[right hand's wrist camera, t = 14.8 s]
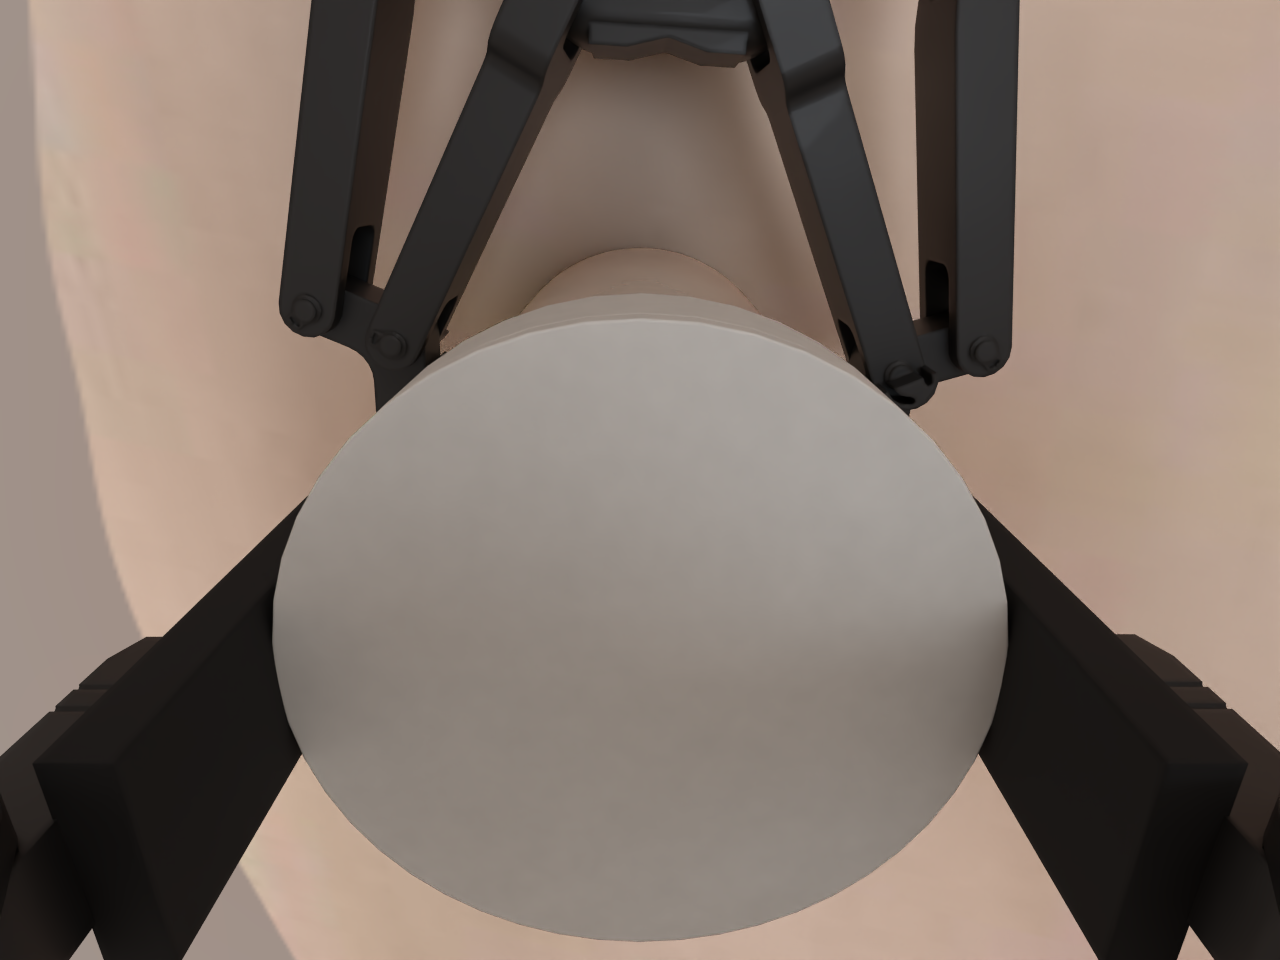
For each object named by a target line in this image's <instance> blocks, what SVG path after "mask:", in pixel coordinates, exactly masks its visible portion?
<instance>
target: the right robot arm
mask: <svg viewBox="0 0 1280 960" xmlns="http://www.w3.org/2000/svg"><path fill="white" fill-rule="evenodd" d="M308 496H309V495H308ZM308 496H307V497H308ZM307 497H306V498H305V499H304V500H303V501H302V502H301V503H300V504H299V505H298V506H297V507H296V508H295V509H294V510H293V511H292V512H291V513H290V514H289V515H288V516H287V517H286V518H285V519H283V520H282V521H281V522H280V523H279V524H278V525H277V526H276V527H275V528H274V529H273V530H272V531H271V532H270V533H269V534H268V535H267V536H266V537H265V538H264V539H263V540H262V541H261V542H260V543H259V544H258V545H257V546H256V547H255V548H254V549H253V550H252V551H251V552H249V553H248V554H247V555H246V556H245V557H244V558H243V559H242V560H241V561H240V562H239V563H238V564H237V565H236V566H235V567H234V568H233V569H232V570H231V571H230V572H229V573H228V574H227V575H226V576H225V577H224V578H223V579H222V580H221V581H220V582H219V583H218V584H217V585H215V586H214V587H213V588H212V589H211V590H210V591H209V592H208V593H207V594H206V595H205V596H204V597H203V598H202V599H201V600H200V601H199V602H198V603H197V604H196V605H195V606H194V607H193V608H192V609H191V610H190V611H189V612H188V613H187V614H186V615H185V616H184V617H183V618H182V619H180V620H179V621H178V622H177V623H176V624H175V625H174V626H173V627H172V628H171V629H170V630H169V631H168V632H167V633H166V634H165V635H164V636H163V637H145V638H144V639H142V640H140V641H138V642H137V643H135V644H133V645H131V646H129V647H128V648H126V649H124V650H122V651H120V652H119V653H117V654H115V655H113V656H112V657H110V658H108V659H107V660H106V661H105V662H103V663H102V664H101V665H100V666H99V667H98V668H97V669H96V670H95V671H94V672H92V673H91V674H90V675H89V676H88V677H87V678H86V679H85V680H84V681H83V682H81V683H80V684H79V689H78V690H73V691H72V692H70V693H69V694H68V695H67V696H66V697H65V698H64V699H63V700H62V701H61V702H60V703H58V704H57V705H56V709H55V711H54V712H49V713H47V714H46V715H45V716H44V717H43V718H42V719H41V720H40V721H39V722H38V723H36V724H35V725H34V726H33V727H32V728H31V729H30V730H29V731H28V732H27V733H25V734H24V735H23V736H22V737H21V738H20V739H19V740H18V741H17V742H16V743H14V744H13V745H12V746H11V747H10V748H9V749H8V750H7V751H6V752H5V753H4V754H2V755H1V756H0V960H69V959H70V958H71V957H72V955H73V954H74V952H75V951H76V950H77V948H78V947H79V945H80V944H81V943H82V941H83V940H84V939H85V937H86V936H87V934H88V933H89V932H90V930H91V929H93V931H94V934H95V937H96V940H97V942H98V945H99V948H100V950H101V953H102V956H103V959H104V960H182V959H183V957H184V955H185V954H186V952H187V950H188V948H189V947H190V945H191V943H192V942H193V940H194V938H195V936H196V935H197V933H198V931H199V930H200V928H201V926H202V924H203V923H204V921H205V919H206V918H207V916H208V914H209V912H210V911H211V909H212V907H213V905H214V904H215V902H216V900H217V899H218V897H219V895H220V894H221V892H222V890H223V888H224V886H225V885H226V883H227V881H228V880H229V878H230V876H231V875H232V873H233V871H234V869H235V868H236V866H237V864H238V863H239V861H240V859H241V857H242V856H243V854H244V852H245V851H246V849H247V847H248V845H249V844H250V842H251V840H252V839H253V837H254V835H255V833H256V832H257V830H258V828H259V827H260V825H261V823H262V821H263V820H264V818H265V816H266V815H267V813H268V811H269V809H270V808H271V806H272V804H273V803H274V801H275V799H276V797H277V796H278V794H279V792H280V790H281V789H282V787H283V785H284V784H285V782H286V780H287V778H288V777H289V775H290V773H291V772H292V770H293V768H294V766H295V765H296V763H297V761H298V760H299V758H300V756H301V754H302V752H301V750H300V747H299V745H298V743H297V741H296V739H295V736H294V734H293V732H292V730H291V727H290V725H289V723H288V720H287V716H286V713H285V709H284V705H283V700H282V696H281V691H280V687H279V682H278V677H277V671H276V666H275V661H274V654H273V646H272V632H273V600H274V595H275V590H276V584H277V579H278V574H279V569H280V564H281V559H282V556H283V553H284V550H285V547H286V545H287V542H288V539H289V536H290V534H291V531H292V528H293V526H294V523H295V520H296V517H297V515H298V513H299V512H300V510H301V508H302V506H303V504H304V503H305V501H306V499H307ZM973 498H974V497H973ZM974 500H975V502H976V503H977V505H978V507H979V509H980V511H981V513H982V514H983V516H984V518H985V521H986V523H987V526H988V529H989V532H990V535H991V537H992V540H993V543H994V546H995V549H996V552H997V554H998V557H999V560H1000V565H1001V571H1002V576H1003V582H1004V587H1005V592H1006V598H1007V611H1008V651H1007V658H1006V663H1005V668H1004V674H1003V679H1002V684H1001V689H1000V693H999V698H998V702H997V706H996V711H995V714H994V718H993V721H992V724H991V726H990V729H989V731H988V733H987V735H986V737H985V740H984V742H983V744H982V746H981V748H980V751H979V753H978V754H979V755H980V757H981V759H982V760H983V762H984V764H985V766H986V767H987V769H988V771H989V773H990V774H991V776H992V778H993V779H994V781H995V783H996V785H997V786H998V788H999V790H1000V791H1001V793H1002V795H1003V797H1004V798H1005V800H1006V802H1007V803H1008V805H1009V807H1010V809H1011V810H1012V812H1013V814H1014V815H1015V817H1016V819H1017V821H1018V822H1019V824H1020V826H1021V827H1022V829H1023V831H1024V833H1025V834H1026V836H1027V838H1028V839H1029V841H1030V843H1031V845H1032V846H1033V848H1034V850H1035V851H1036V853H1037V855H1038V857H1039V858H1040V860H1041V862H1042V863H1043V865H1044V867H1045V869H1046V870H1047V872H1048V874H1049V876H1050V877H1051V879H1052V881H1053V882H1054V884H1055V886H1056V888H1057V889H1058V891H1059V893H1060V894H1061V896H1062V898H1063V900H1064V901H1065V903H1066V905H1067V906H1068V908H1069V910H1070V912H1071V913H1072V915H1073V917H1074V918H1075V920H1076V922H1077V924H1078V925H1079V927H1080V929H1081V930H1082V932H1083V934H1084V936H1085V937H1086V939H1087V941H1088V942H1089V944H1090V946H1091V948H1092V949H1093V951H1094V953H1095V954H1096V956H1097V958H1098V960H1177V958H1178V955H1179V952H1180V950H1181V947H1182V944H1183V941H1184V939H1185V936H1186V933H1187V930H1188V928H1189V925H1190V927H1191V928H1192V930H1193V931H1194V932H1195V934H1196V935H1197V936H1198V938H1199V939H1200V940H1201V942H1202V943H1203V945H1204V946H1205V947H1206V949H1207V950H1208V951H1209V953H1210V954H1211V956H1212V957H1213V958H1214V960H1280V752H1279V751H1278V750H1277V749H1276V748H1275V747H1274V746H1273V745H1272V744H1270V743H1269V742H1268V741H1267V740H1266V739H1265V738H1264V737H1263V736H1262V735H1260V734H1259V733H1258V732H1257V731H1256V730H1255V729H1254V728H1253V727H1252V726H1251V725H1249V724H1248V723H1247V722H1246V721H1245V720H1244V719H1243V718H1242V717H1241V716H1239V715H1238V714H1237V713H1236V712H1235V711H1234V710H1233V709H1227V708H1226V703H1225V702H1224V701H1223V700H1222V699H1221V698H1220V697H1218V696H1217V695H1216V694H1215V693H1214V692H1213V691H1212V690H1211V689H1210V688H1209V687H1203V685H1202V681H1201V680H1200V679H1199V678H1197V677H1196V676H1195V675H1194V674H1193V673H1192V672H1191V671H1190V670H1189V669H1188V668H1186V667H1185V666H1184V665H1183V664H1182V663H1181V662H1180V661H1179V660H1178V659H1176V658H1175V657H1174V656H1173V655H1171V654H1169V653H1167V652H1165V651H1164V650H1162V649H1160V648H1158V647H1157V646H1155V645H1153V644H1151V643H1149V642H1148V641H1146V640H1144V639H1142V638H1140V637H1139V636H1137V635H1135V634H1114V633H1113V632H1112V631H1111V630H1110V629H1109V628H1108V627H1107V626H1106V625H1105V624H1104V623H1103V622H1102V621H1101V620H1100V619H1099V618H1098V617H1097V616H1096V615H1095V614H1094V613H1093V612H1092V611H1091V610H1090V609H1089V608H1088V607H1087V606H1086V605H1085V604H1084V603H1083V602H1082V601H1080V600H1079V599H1078V598H1077V597H1076V596H1075V595H1074V594H1073V593H1072V592H1071V591H1070V590H1069V589H1068V588H1067V587H1066V586H1065V585H1064V584H1063V583H1062V582H1061V581H1060V580H1059V579H1058V578H1057V577H1056V576H1055V575H1054V574H1053V573H1052V572H1051V571H1050V570H1049V569H1048V568H1046V567H1045V566H1044V565H1043V564H1042V563H1041V562H1040V561H1039V560H1038V559H1037V558H1036V557H1035V556H1034V555H1033V554H1032V553H1031V552H1030V551H1029V550H1028V549H1027V548H1026V547H1025V546H1024V545H1023V544H1022V543H1021V542H1020V541H1019V540H1018V539H1017V538H1016V537H1015V536H1013V535H1012V534H1011V533H1010V532H1009V531H1008V530H1007V529H1006V528H1005V527H1004V526H1003V525H1002V524H1001V523H1000V522H999V521H998V520H997V519H996V518H995V517H994V516H993V515H992V514H991V513H990V512H989V511H988V510H987V509H986V508H985V507H984V506H983V505H982V504H981V503H979V502H978V501H977V500H976V499H975V498H974Z"/></svg>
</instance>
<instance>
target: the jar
mask: <svg viewBox="0 0 1280 960" xmlns="http://www.w3.org/2000/svg"><path fill="white" fill-rule="evenodd" d="M637 293H646V294H660V295H674V296H689V297H694V298H699V299H703V300H708V301H713V302H718V303H723V304H728V305H732V306H736V307H739V308H742V309H745V310H748V311H751V312H753V313H756V314H759V315H761V314H760V313H759V311H758V310H757V309H756V308H755V307H754V306H753V304H752V303H751V302H750V301H749V300H748V299H747V297H746V296H745V295H744V294H743V293H742V292H741V291H740V290H739V289H738V288H737V287H736V286H735V285H734V284H733V283H732V282H731V281H730V280H729V279H728V278H726V277H725V276H723V275H722V274H721V273H719V272H718V271H716V270H715V269H713V268H712V267H710V266H708V265H706V264H704V263H702V262H700V261H699V260H697V259H694V258H691V257H689V256H686V255H683V254H680V253H677V252H672V251H667V250H663V249H654V248H625V249H618V250H613V251H608V252H603V253H600V254H597V255H595V256H592V257H589V258H586V259H584V260H582V261H580V262H578V263H576V264H574V265H572V266H570V267H568V268H567V269H566V270H564V271H563V272H561V273H560V274H558V275H557V276H555V277H554V278H553V279H552V280H551V281H550V282H548V283H547V284H546V285H545V286H544V287H543V288H542V289H541V290H540V291H539V292H538V293H537V294H536V296H535V297H534V298H533V299H532V300H531V301H530V303H529V304H528V305H527V306H526V307H525V308H524V310H523V311H522V312H521V313H520V314H519V315H521V314H524V313H527V312H530V311H533V310H536V309H539V308H542V307H545V306H548V305H552V304H557V303H562V302H567V301H572V300H577V299H582V298H587V297H593V296H605V295H621V294H637ZM519 315H518V316H519Z"/></svg>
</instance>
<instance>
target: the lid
mask: <svg viewBox="0 0 1280 960" xmlns="http://www.w3.org/2000/svg"><path fill="white" fill-rule="evenodd" d="M272 646H273V654H274V661H275V666H276V671H277V677H278V682H279V687H280V691H281V696H282V700H283V705H284V709H285V713H286V716H287V720H288V723H289V725H290V727H291V730H292V732H293V734H294V736H295V739H296V741H297V743H298V745H299V747H300V750H301V752H302V754H303V756H304V759H305V760H306V762H307V763H308V765H309V767H310V768H311V770H312V771H313V773H314V775H315V776H316V778H317V779H318V781H319V783H320V784H321V786H322V787H323V789H324V791H325V792H326V793H327V795H328V796H329V797H330V798H331V800H332V801H333V802H334V803H335V804H336V806H337V807H338V808H339V809H340V811H341V812H342V813H343V814H344V815H345V817H346V818H347V819H348V820H349V822H350V823H351V824H352V825H353V826H354V827H356V828H357V829H358V830H359V831H360V832H361V833H362V834H363V835H364V836H365V837H366V838H367V839H368V840H369V841H370V842H371V843H372V844H373V845H374V846H375V847H376V848H378V849H379V850H380V851H381V852H382V853H384V854H385V855H386V856H388V857H389V858H390V859H392V860H393V861H394V862H396V863H397V864H398V865H400V866H401V867H402V868H404V869H405V870H406V871H408V872H409V873H410V874H412V875H413V876H415V877H417V878H418V879H420V880H422V881H423V882H425V883H427V884H428V885H430V886H432V887H433V888H435V889H437V890H438V891H440V892H442V893H443V894H445V895H447V896H450V897H452V898H454V899H456V900H458V901H460V902H462V903H465V904H467V905H469V906H471V907H473V908H475V909H478V910H480V911H482V912H485V913H488V914H491V915H494V916H496V917H499V918H502V919H505V920H508V921H511V922H514V923H517V924H519V925H524V926H528V927H532V928H536V929H540V930H544V931H548V932H553V933H557V934H562V935H569V936H576V937H583V938H590V939H597V940H615V941H636V942H643V941H666V940H682V939H690V938H697V937H704V936H711V935H719V934H723V933H727V932H732V931H736V930H740V929H744V928H749V927H753V926H757V925H761V924H763V923H766V922H769V921H772V920H775V919H778V918H781V917H784V916H787V915H790V914H793V913H796V912H798V911H800V910H803V909H805V908H807V907H809V906H811V905H814V904H816V903H818V902H820V901H822V900H824V899H827V898H829V897H831V896H833V895H835V894H837V893H838V892H840V891H842V890H843V889H845V888H847V887H849V886H850V885H852V884H854V883H855V882H857V881H859V880H860V879H862V878H864V877H866V876H867V875H869V874H870V873H871V872H873V871H874V870H875V869H877V868H878V867H879V866H881V865H882V864H883V863H885V862H886V861H887V860H889V859H890V858H891V857H893V856H894V855H895V854H897V853H898V852H899V851H901V850H902V849H903V848H904V847H905V846H906V845H907V844H908V843H909V842H910V841H911V840H912V839H913V838H914V837H915V836H917V835H918V834H919V833H920V832H921V831H922V830H923V829H924V828H925V827H926V826H927V825H928V824H929V823H930V822H931V821H932V819H933V818H934V817H935V816H936V815H937V813H938V812H939V811H940V810H941V809H942V807H943V806H944V805H945V804H946V803H947V801H948V800H949V799H950V798H951V797H952V795H953V794H954V793H955V791H956V790H957V788H958V786H959V785H960V783H961V782H962V780H963V778H964V777H965V775H966V774H967V772H968V771H969V769H970V767H971V766H972V764H973V763H974V761H975V759H976V757H977V755H978V753H979V751H980V748H981V746H982V744H983V742H984V740H985V737H986V735H987V733H988V731H989V729H990V726H991V724H992V721H993V718H994V714H995V711H996V706H997V702H998V698H999V693H1000V689H1001V684H1002V679H1003V674H1004V668H1005V663H1006V658H1007V651H1008V611H1007V598H1006V592H1005V587H1004V582H1003V576H1002V571H1001V565H1000V560H999V557H998V554H997V552H996V549H995V546H994V543H993V540H992V537H991V535H990V532H989V529H988V526H987V523H986V521H985V518H984V516H983V514H982V513H981V511H980V509H979V507H978V505H977V503H976V502H975V500H974V498H973V496H972V494H971V493H970V491H969V489H968V487H967V485H966V483H965V482H964V480H963V478H962V477H961V475H960V474H959V473H958V472H957V470H956V469H955V468H954V466H953V465H952V464H951V462H950V461H949V460H948V459H947V457H946V456H945V455H944V453H943V452H942V451H941V449H940V448H939V447H938V446H937V444H936V443H935V442H934V440H933V439H932V438H930V437H929V436H928V435H927V434H926V433H925V432H924V431H923V430H922V429H921V428H920V427H919V426H918V425H917V424H916V423H915V422H914V421H913V420H912V419H911V418H910V417H909V416H907V415H906V414H905V413H904V412H903V411H902V410H901V409H900V408H899V407H898V406H897V405H896V404H895V403H894V402H893V401H891V400H890V399H889V398H888V397H887V396H886V395H885V394H884V393H883V392H881V391H880V390H879V389H878V388H877V387H876V386H875V385H874V384H873V383H871V382H870V381H869V380H868V379H867V378H866V377H865V376H864V375H863V374H861V373H860V372H859V371H858V370H857V369H856V368H855V367H853V366H852V365H850V364H849V363H848V362H846V361H845V360H843V359H842V358H841V357H839V356H838V355H836V354H835V353H834V352H832V351H831V350H829V349H828V348H827V347H825V346H824V345H822V344H821V343H819V342H818V341H816V340H814V339H812V338H810V337H808V336H806V335H804V334H802V333H800V332H798V331H796V330H794V329H792V328H791V327H789V326H787V325H785V324H783V323H781V322H779V321H776V320H773V319H770V318H768V317H765V316H762V315H759V314H756V313H753V312H751V311H748V310H745V309H742V308H739V307H736V306H732V305H728V304H723V303H718V302H713V301H708V300H703V299H699V298H694V297H689V296H674V295H660V294H646V293H637V294H621V295H605V296H593V297H587V298H582V299H577V300H572V301H567V302H562V303H557V304H552V305H548V306H545V307H542V308H539V309H536V310H533V311H530V312H527V313H524V314H521V315H519V316H516V317H513V318H510V319H507V320H504V321H502V322H500V323H498V324H496V325H494V326H492V327H490V328H488V329H486V330H484V331H482V332H480V333H478V334H476V335H474V336H472V337H470V338H468V339H467V340H465V341H463V342H461V343H460V344H458V345H457V346H456V347H454V348H453V349H451V350H450V351H448V352H447V353H446V354H444V355H443V356H441V357H440V358H438V359H437V360H436V361H434V362H433V363H431V364H430V365H428V366H427V367H426V368H425V369H424V370H423V371H421V372H420V373H419V374H418V375H417V376H416V377H415V378H414V379H413V380H412V381H410V382H409V383H408V384H407V385H406V386H405V387H404V388H403V389H402V390H400V391H399V392H398V393H397V394H396V395H395V396H394V397H393V398H392V399H391V400H389V401H388V402H387V403H386V404H385V405H384V406H383V407H382V408H381V409H380V410H379V411H378V412H377V413H375V414H374V415H373V416H372V417H371V418H370V419H369V420H368V421H367V422H366V423H365V424H364V425H363V426H362V427H361V428H360V429H358V430H357V431H356V432H355V433H354V434H353V435H352V436H351V437H350V438H349V439H348V440H347V442H346V443H345V444H344V445H343V447H342V448H341V449H340V450H339V452H338V453H337V454H336V456H335V457H334V458H333V459H332V461H331V462H330V463H329V464H328V466H327V467H326V468H325V470H324V471H323V472H322V473H321V475H320V476H319V478H318V479H317V481H316V483H315V485H314V487H313V488H312V490H311V492H310V494H309V496H308V497H307V499H306V501H305V503H304V504H303V506H302V508H301V510H300V512H299V513H298V515H297V517H296V520H295V523H294V526H293V528H292V531H291V534H290V536H289V539H288V542H287V545H286V547H285V550H284V553H283V556H282V559H281V564H280V569H279V574H278V579H277V584H276V590H275V595H274V600H273V632H272Z"/></svg>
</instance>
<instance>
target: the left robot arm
mask: <svg viewBox="0 0 1280 960" xmlns="http://www.w3.org/2000/svg"><path fill="white" fill-rule="evenodd" d="M1019 2H1020V0H919V2H918V9H917V16H916V24H915V49H914V52H915V100H916V148H917V195H918V243H919V291H920V319H918V320H914V321H913V320H912V317H911V313H910V310H909V306H908V302H907V299H906V295H905V292H904V288H903V285H902V281H901V278H900V274H899V271H898V267H897V264H896V260H895V257H894V253H893V250H892V246H891V243H890V239H889V235H888V232H887V228H886V225H885V221H884V218H883V214H882V211H881V207H880V204H879V200H878V197H877V193H876V190H875V186H874V183H873V179H872V175H871V172H870V168H869V165H868V161H867V158H866V154H865V151H864V147H863V144H862V140H861V137H860V133H859V130H858V126H857V123H856V119H855V116H854V112H853V108H852V105H851V101H850V98H849V94H848V91H847V87H846V83H845V58H844V52H843V48H842V43H841V40H840V36H839V33H838V29H837V26H836V22H835V18H834V15H833V11H832V8H831V4H830V1H829V0H503V3H502V5H501V7H500V10H499V12H498V14H497V17H496V19H495V21H494V24H493V27H492V29H491V32H490V36H489V39H488V46H487V53H486V56H485V59H484V62H483V64H482V66H481V69H480V71H479V73H478V76H477V78H476V80H475V83H474V85H473V87H472V89H471V92H470V94H469V96H468V99H467V101H466V103H465V106H464V108H463V110H462V112H461V115H460V117H459V119H458V122H457V124H456V126H455V129H454V131H453V133H452V135H451V138H450V140H449V142H448V145H447V147H446V149H445V152H444V154H443V156H442V158H441V161H440V163H439V165H438V168H437V170H436V172H435V175H434V177H433V179H432V181H431V184H430V186H429V188H428V191H427V193H426V195H425V198H424V200H423V202H422V204H421V207H420V209H419V211H418V214H417V216H416V218H415V221H414V223H413V225H412V227H411V230H410V232H409V234H408V237H407V239H406V241H405V244H404V246H403V248H402V250H401V253H400V255H399V257H398V260H397V262H396V264H395V267H394V269H393V271H392V273H391V276H390V278H389V280H388V283H387V285H386V287H385V290H383V289H381V288H379V287H376V286H374V285H373V279H374V272H375V265H376V259H377V252H378V246H379V239H380V232H381V226H382V219H383V213H384V206H385V199H386V193H387V186H388V180H389V173H390V166H391V160H392V153H393V147H394V140H395V133H396V127H397V120H398V114H399V107H400V100H401V94H402V87H403V81H404V74H405V67H406V61H407V54H408V48H409V41H410V34H411V28H412V21H413V15H414V4H415V0H312V1H311V10H310V19H309V29H308V38H307V47H306V56H305V65H304V75H303V84H302V93H301V102H300V111H299V121H298V130H297V139H296V148H295V157H294V167H293V176H292V185H291V194H290V203H289V213H288V222H287V231H286V240H285V250H284V259H283V268H282V277H281V286H280V296H279V310H280V315H281V317H282V319H283V321H284V323H285V324H286V325H287V326H288V327H289V328H290V329H291V330H292V331H293V332H295V333H297V334H299V335H301V336H304V337H317V336H322V337H325V338H327V339H330V340H332V341H335V342H337V343H340V344H342V345H345V346H347V347H349V348H351V349H353V350H355V351H357V352H358V353H359V354H360V355H361V356H362V357H364V359H365V360H366V361H367V363H368V364H369V366H370V368H371V370H372V373H373V378H374V387H375V402H376V413H377V412H378V411H379V410H380V409H381V408H382V407H383V406H384V405H385V404H386V403H387V402H388V401H389V400H391V399H392V398H393V397H394V396H395V395H396V394H397V393H398V392H399V391H400V390H402V389H403V388H404V387H405V386H406V385H407V384H408V383H409V382H410V381H412V380H413V379H414V378H415V377H416V376H417V375H418V374H419V373H420V372H421V371H423V370H424V369H425V368H426V367H427V366H428V365H430V364H431V363H433V362H434V361H436V360H437V359H438V358H440V357H441V356H443V355H444V354H446V353H447V352H444V353H443V354H442V355H441V356H440V341H441V340H442V339H443V338H444V337H445V336H446V335H447V333H448V332H449V331H448V330H446V328H447V326H448V324H449V322H450V320H451V318H452V316H453V313H454V311H455V309H456V307H457V305H458V303H459V301H460V299H461V296H462V294H463V292H464V290H465V288H466V286H467V284H468V282H469V280H470V277H471V275H472V273H473V271H474V269H475V267H476V265H477V263H478V260H479V258H480V256H481V254H482V252H483V250H484V248H485V246H486V244H487V241H488V239H489V237H490V235H491V233H492V231H493V229H494V227H495V225H496V222H497V220H498V218H499V216H500V214H501V212H502V210H503V208H504V205H505V203H506V201H507V199H508V197H509V195H510V193H511V191H512V189H513V186H514V184H515V182H516V180H517V178H518V176H519V174H520V172H521V169H522V167H523V165H524V163H525V161H526V159H527V157H528V155H529V153H530V150H531V148H532V146H533V144H534V142H535V140H536V138H537V136H538V133H539V131H540V129H541V127H542V125H543V123H544V121H545V119H546V117H547V114H548V112H549V110H550V108H551V106H552V104H553V102H554V100H555V99H556V97H557V96H558V94H559V93H560V92H561V90H562V88H563V86H564V85H565V83H566V81H567V79H568V77H569V75H570V72H571V70H572V68H573V66H574V64H575V62H576V60H577V58H578V56H579V53H580V51H581V49H584V50H586V51H589V52H591V53H592V54H593V57H594V58H599V59H614V60H628V61H629V60H633V59H637V58H642V57H646V56H650V55H655V54H659V53H669V54H671V55H674V56H677V57H679V58H682V59H685V60H687V61H690V62H692V63H695V64H698V65H701V66H716V67H730V68H735V66H736V65H737V64H738V63H739V62H743V61H747V64H748V67H749V70H750V73H751V76H752V79H753V82H754V86H755V89H756V92H757V94H758V97H759V100H760V102H761V104H762V106H763V108H764V109H765V111H766V113H767V115H768V118H769V121H770V123H771V127H772V130H773V133H774V136H775V139H776V142H777V145H778V148H779V152H780V155H781V158H782V161H783V164H784V167H785V170H786V173H787V176H788V180H789V183H790V186H791V189H792V192H793V195H794V198H795V201H796V204H797V208H798V211H799V214H800V217H801V220H802V223H803V226H804V229H805V233H806V236H807V239H808V242H809V245H810V248H811V251H812V254H813V257H814V261H815V264H816V267H817V270H818V273H819V276H820V279H821V282H822V286H823V289H824V292H825V295H826V298H827V301H828V304H829V307H830V310H831V314H832V317H833V320H834V323H835V326H836V329H837V332H838V335H839V338H840V342H841V345H842V348H843V351H844V354H845V357H846V360H847V362H848V363H849V364H850V365H852V366H853V367H855V368H856V369H857V370H858V371H859V372H860V373H861V374H863V375H864V376H865V377H866V378H867V379H868V380H869V381H870V382H871V383H873V384H874V385H875V386H876V387H877V388H878V389H879V390H880V391H881V392H883V393H884V394H885V395H886V396H887V397H888V398H889V399H890V400H891V401H893V402H894V403H895V404H896V405H897V406H898V407H899V408H900V409H901V410H902V411H903V412H904V413H905V414H906V415H907V416H909V414H910V410H911V409H916V408H918V407H920V406H922V405H924V404H925V403H927V402H928V401H929V399H930V398H931V397H932V396H933V395H934V393H935V390H936V387H937V384H938V382H941V381H944V380H948V379H952V378H955V377H959V376H962V375H966V374H969V375H971V376H973V377H986V376H989V375H992V374H994V373H996V372H997V371H998V370H1000V369H1001V368H1002V367H1003V366H1004V365H1005V363H1006V362H1007V360H1008V359H1009V357H1010V352H1011V348H1012V311H1013V267H1014V223H1015V179H1016V135H1017V91H1018V47H1019Z"/></svg>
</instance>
